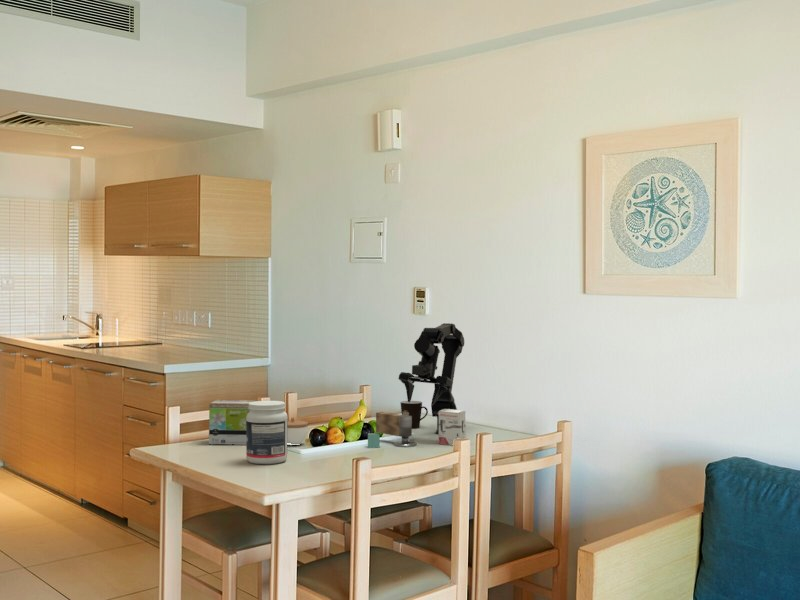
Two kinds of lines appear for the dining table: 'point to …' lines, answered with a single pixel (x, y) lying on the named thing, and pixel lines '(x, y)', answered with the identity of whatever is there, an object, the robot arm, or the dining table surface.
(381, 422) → the brown rectangular block
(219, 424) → the tea box
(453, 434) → the ink box
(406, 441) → the stool pivot and socket
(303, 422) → the lidded jar
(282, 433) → the supplement tub
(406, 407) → the coffee mug
